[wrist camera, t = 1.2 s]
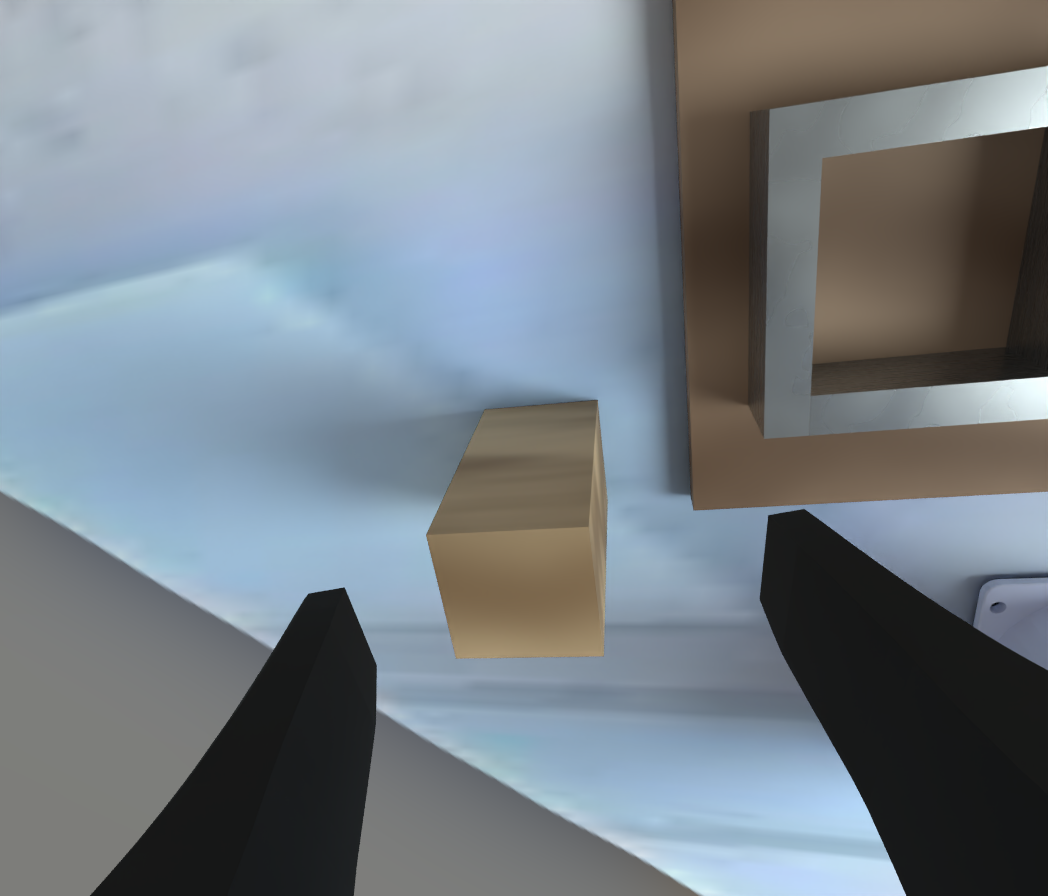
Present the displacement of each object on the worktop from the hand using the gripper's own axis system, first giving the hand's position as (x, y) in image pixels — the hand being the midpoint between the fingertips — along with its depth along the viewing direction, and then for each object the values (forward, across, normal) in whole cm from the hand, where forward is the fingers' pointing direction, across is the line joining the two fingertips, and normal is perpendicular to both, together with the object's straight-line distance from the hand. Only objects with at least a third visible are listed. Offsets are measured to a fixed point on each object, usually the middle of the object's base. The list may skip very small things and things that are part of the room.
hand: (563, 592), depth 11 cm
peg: (+12, -1, +5) cm, 13 cm away
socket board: (+10, -12, -1) cm, 15 cm away
